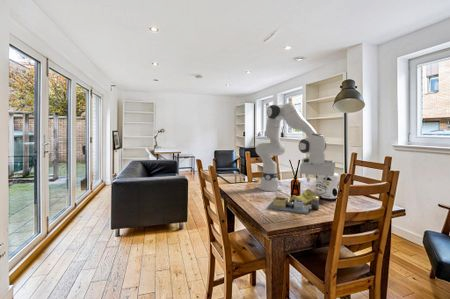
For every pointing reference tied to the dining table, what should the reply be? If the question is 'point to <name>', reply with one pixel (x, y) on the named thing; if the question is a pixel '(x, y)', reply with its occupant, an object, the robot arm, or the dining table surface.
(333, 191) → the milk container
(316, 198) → the valve stub
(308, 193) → the plastic component
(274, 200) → the manifold
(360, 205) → the dining table surface
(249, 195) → the dining table surface
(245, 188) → the dining table surface
